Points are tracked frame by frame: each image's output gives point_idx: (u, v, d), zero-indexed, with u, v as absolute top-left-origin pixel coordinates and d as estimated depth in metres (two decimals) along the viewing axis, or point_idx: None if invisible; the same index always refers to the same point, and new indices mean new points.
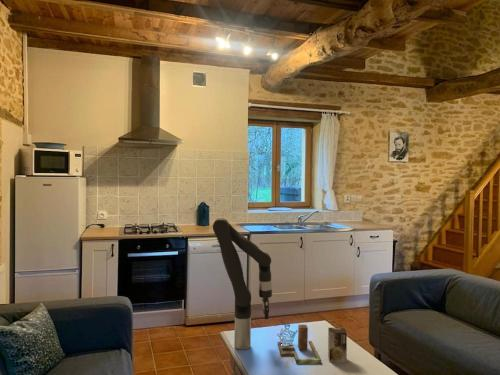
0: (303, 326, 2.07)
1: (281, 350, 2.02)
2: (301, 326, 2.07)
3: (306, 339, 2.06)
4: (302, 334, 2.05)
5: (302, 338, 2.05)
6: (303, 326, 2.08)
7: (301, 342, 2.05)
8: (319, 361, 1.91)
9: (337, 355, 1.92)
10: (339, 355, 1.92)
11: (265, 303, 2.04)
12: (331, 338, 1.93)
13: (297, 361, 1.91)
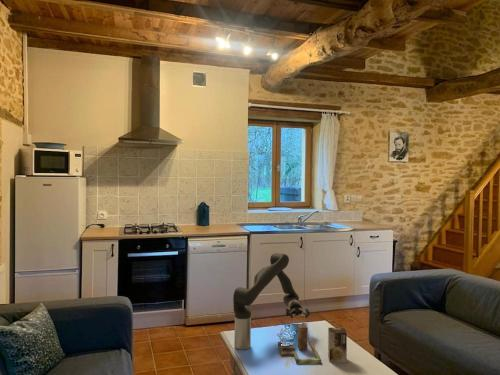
0: (303, 326, 2.07)
1: (281, 350, 2.02)
2: (301, 326, 2.07)
3: (306, 339, 2.06)
4: (302, 334, 2.05)
5: (302, 338, 2.05)
6: (303, 326, 2.08)
7: (301, 342, 2.05)
8: (319, 361, 1.91)
9: (337, 355, 1.92)
10: (339, 355, 1.92)
11: None
12: (331, 338, 1.93)
13: (297, 361, 1.91)
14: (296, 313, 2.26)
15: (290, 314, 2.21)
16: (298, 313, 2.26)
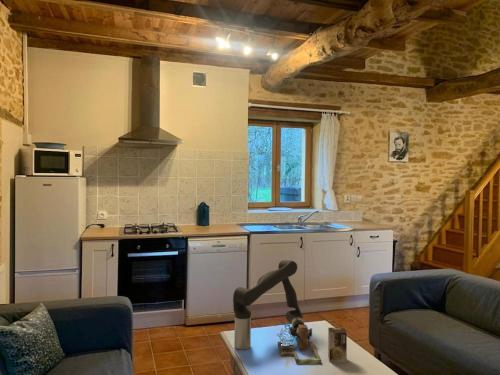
0: (303, 326, 2.07)
1: (281, 350, 2.02)
2: (301, 326, 2.07)
3: (306, 339, 2.06)
4: (302, 334, 2.05)
5: (302, 338, 2.05)
6: (303, 326, 2.08)
7: (301, 342, 2.05)
8: (319, 361, 1.91)
9: (337, 355, 1.92)
10: (339, 355, 1.92)
11: None
12: (331, 338, 1.93)
13: (297, 361, 1.91)
14: None
15: (297, 335, 2.07)
16: None
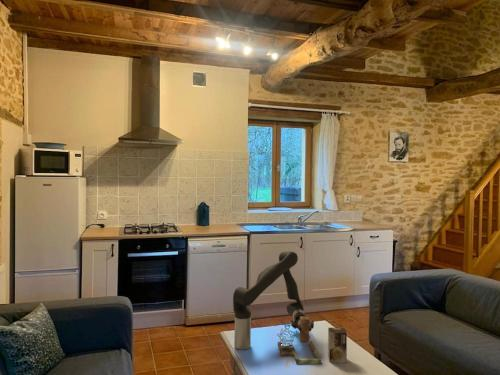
0: (305, 318, 2.03)
1: (281, 350, 2.02)
2: (303, 318, 2.03)
3: (308, 331, 2.01)
4: (304, 326, 2.01)
5: (303, 330, 2.01)
6: (305, 317, 2.03)
7: (303, 334, 2.01)
8: (319, 361, 1.91)
9: (337, 355, 1.92)
10: (339, 355, 1.92)
11: (313, 321, 2.10)
12: (331, 338, 1.93)
13: (297, 361, 1.91)
14: None
15: (298, 327, 2.02)
16: None
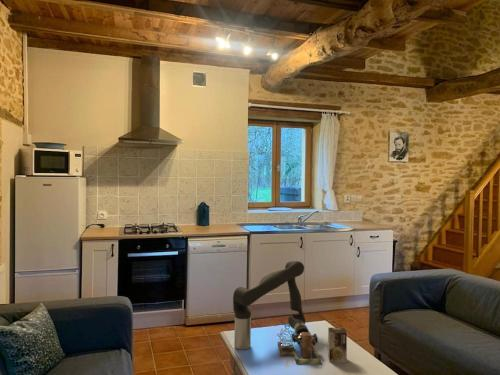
0: (307, 334, 1.97)
1: (281, 350, 2.02)
2: (304, 334, 1.97)
3: (310, 347, 1.95)
4: (306, 342, 1.95)
5: (305, 346, 1.95)
6: (307, 333, 1.97)
7: (304, 351, 1.95)
8: (319, 361, 1.91)
9: (337, 355, 1.92)
10: (339, 355, 1.92)
11: None
12: (331, 338, 1.93)
13: (297, 361, 1.91)
14: None
15: (298, 341, 1.97)
16: None
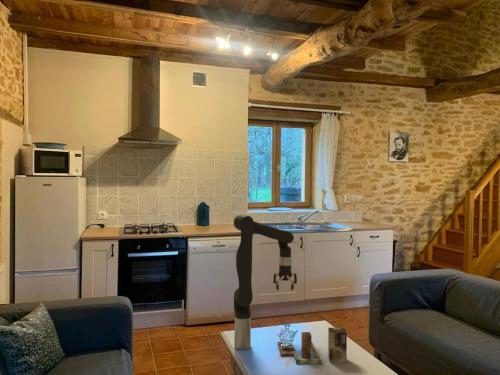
0: (307, 334, 1.97)
1: (281, 350, 2.02)
2: (304, 334, 1.97)
3: (310, 347, 1.95)
4: (306, 342, 1.95)
5: (305, 346, 1.95)
6: (307, 333, 1.97)
7: (304, 351, 1.95)
8: (319, 361, 1.91)
9: (337, 355, 1.92)
10: (339, 355, 1.92)
11: None
12: (331, 338, 1.93)
13: (297, 361, 1.91)
14: None
15: (276, 287, 2.24)
16: None
